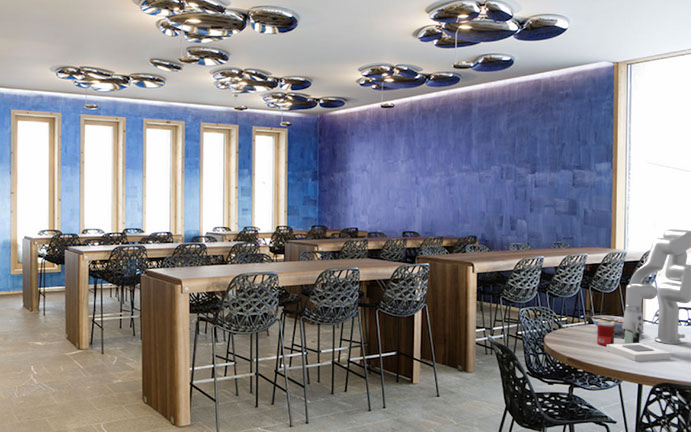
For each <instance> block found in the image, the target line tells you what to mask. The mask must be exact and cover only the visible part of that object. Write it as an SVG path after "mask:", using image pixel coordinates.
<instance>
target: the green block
mask: <svg viewBox="0 0 691 432" xmlns="http://www.w3.org/2000/svg"><path fill="white" fill-rule="evenodd" d="M636 334H637V333H636ZM633 337H634V333H633V331H625V332H624V342H623V344H627V343H633ZM640 340H641V337H640V338H639V343H641V341H640Z"/></svg>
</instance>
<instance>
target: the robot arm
mask: <svg viewBox="0 0 691 432" xmlns="http://www.w3.org/2000/svg"><path fill="white" fill-rule="evenodd" d="M689 249H691V230H688V229H687V230H686V229H672V228H671V229H666V230H665V231H664V232H663V237H659V238H656V239H654V241H652V244H651V246H650V250H649V253H648V256H647V258H646V261H645V263H644V264H643V265H642V266H640V267H639V268H638V269H637V270H636V271H635V272H634V273H633V275H632V276H631V278H630V281H629V284H627V285H626V287H625V288H626V289H625V308H624V309H625V310H624V314H623V318H624V319H623V325H622V328H623V330H624V332H623V333H625V331H633V333H634V337H633V343H639V338H640V339H641V336H642V335H643V334H644V333H645V332H644V316H643V312H642V310H643V309H642V305H643V304H642V303H643V299H644V300H653V299H655V298H657V296H658V323H657V336H655V337H654V341H655V342H658V343H661V344H668V345H670V344H671V345H678V344H679V345H680V344H681V343H682V340H681V339H684V338H686V335H685V334H683V333H681V334H680V333H679V318H680V316H679V315H680V308H679V305H678V303H679V304H680V303H681V304H689V303H690V302H691V264H687V259H688V252H687V251H688V250H689ZM667 257H668V259H667ZM666 260H668V261H667V263H666ZM665 263H666V269H665V273H664V275H665V278H666V279H668V280H670V281H673V282H670V281H668V282H667V281H665V282H662V283H661V284H659V285H658V287H655V286H654V285H651V284H649V283H648V284H647V283H643V281H644V280H645V278H647V277H648V276H649V275H652V274H654V273H658V272H660V271H662V270H663V269H664V266H665ZM674 281H675V283H674ZM676 282H679V283H676ZM636 333H637V334H636Z"/></svg>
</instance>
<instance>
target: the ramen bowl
mask: <svg viewBox="0 0 691 432" xmlns="http://www.w3.org/2000/svg"><path fill="white" fill-rule="evenodd" d="M584 318H589V319H591V320H592V322H593V323H594V325H595V326H596V327H597V328H598V322H608V323H613V324H614V335H615V334H617V335H618V334H620V333H625V332H624V330H623V328H622V325H623V319H624V316H623V317H621V316H615V315H594V316H591V315H585V316H584Z"/></svg>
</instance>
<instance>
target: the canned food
mask: <svg viewBox="0 0 691 432" xmlns="http://www.w3.org/2000/svg"><path fill="white" fill-rule="evenodd" d="M614 341H615V334H614V324H613V323H608V322H598V327H597V336H596V344H597V345H599V346H602V347H603V346H604V347H606V344H615V342H614Z"/></svg>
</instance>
